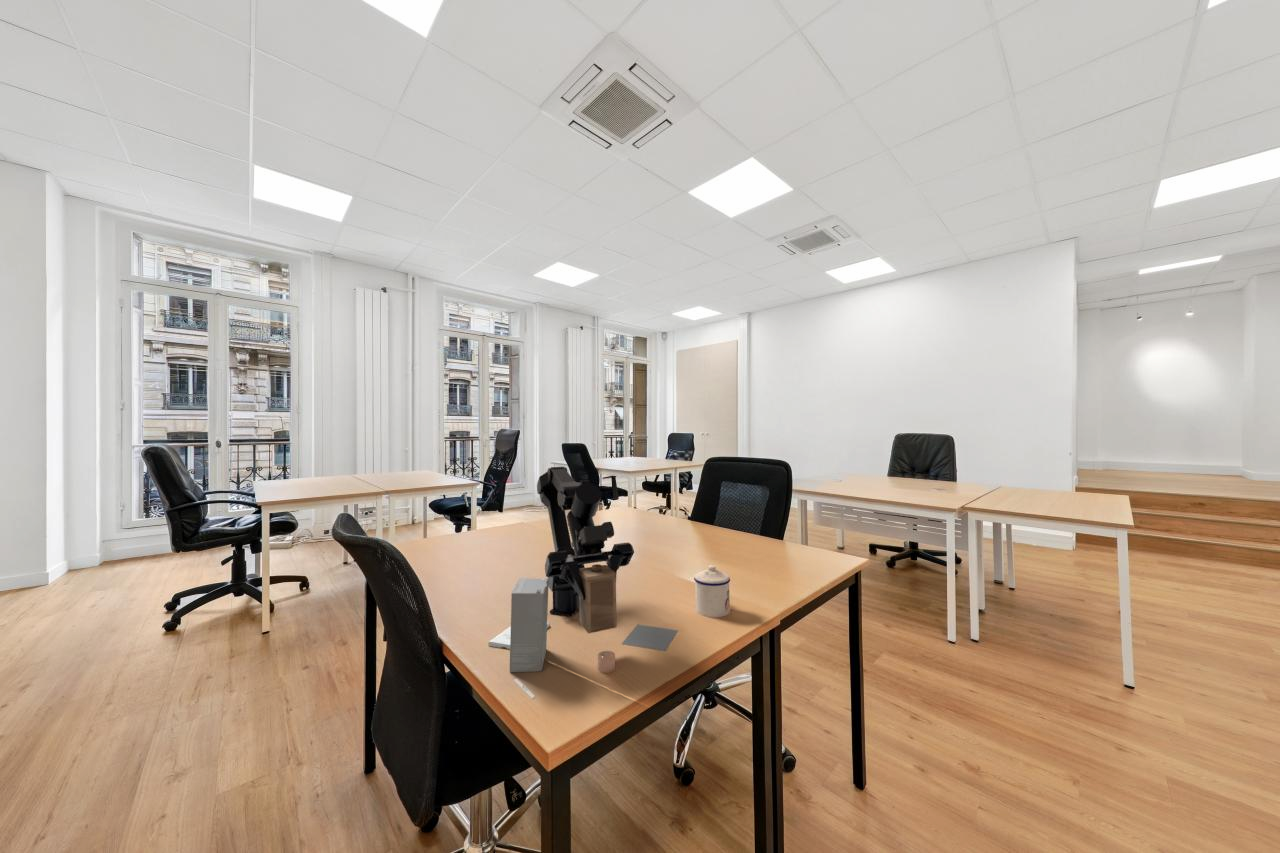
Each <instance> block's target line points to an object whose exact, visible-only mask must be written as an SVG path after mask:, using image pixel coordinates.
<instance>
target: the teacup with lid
mask: <svg viewBox="0 0 1280 853" xmlns="http://www.w3.org/2000/svg"><path fill="white" fill-rule="evenodd" d="M693 580H694V584H695V585H694V586H695V588H694V590H695V591H694V592H695V594H694V596H695V612H696V614H698V615H701V616H703V617H707V618H713V619H714V618H715V619H716V618H722V617H725V616H726V617H727V616H728V615H730V612H731V609H730V608H731V607H730V606H731V602H730V599H731V598H730V582H731V578H730V576H729V574H727V573H726V572H723V571H720V570H719V569H717V568H716V566H715V565H712V564H711V565H710V564H709V565H708V566H707V568H706V569H704V570H702V571H699V572H697V573H696V574H694V577H693Z"/></svg>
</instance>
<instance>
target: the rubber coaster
mask: <svg viewBox="0 0 1280 853" xmlns="http://www.w3.org/2000/svg"><path fill="white" fill-rule="evenodd" d="M678 631H679V629H671V628H666V627H665V628H664V627H657V626H650V625H644V624H639V623H638V624H636V625H635V626H634V628H633V629H632V631H630V633H629V634H628V635H627V636H626V638H625V639H624V640H623V641H622V643H621V645H626V646H632V647H636V648H637V647H638V648H644V649H650V650H657V651H663V652H667V649H668V648H669V647H670V645H671V643H672V641H673V639H674V638H675V636H676V635H677V633H678Z"/></svg>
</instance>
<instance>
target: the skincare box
mask: <svg viewBox="0 0 1280 853" xmlns="http://www.w3.org/2000/svg"><path fill="white" fill-rule="evenodd" d="M548 584H549V579H548V577H546V578H536V577H535V578H533V577H532V578H531V577H529V578H528V577H527V578H525V577H524V578H519V579H518V581H517V582H516V584H515V586H514V588H513V590H511V593H510V594H511V597H510V598H511V606H510V607H511V609H510V613H511V614H510V626H511V639H510V649H509V655H510V656H509V673H525V672H526V673H527V672H528V673H529V672H530V673H531V672H541V671H543V667H544V662H545V657H546V652H547V640H548V639H547V638H548V637H547V636H548V628H547V622H548V611H549V610H548V609H549V608H548V607H549V586H548Z"/></svg>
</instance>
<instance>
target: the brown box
mask: <svg viewBox="0 0 1280 853" xmlns="http://www.w3.org/2000/svg"><path fill="white" fill-rule="evenodd" d="M579 574H580V577H581V581H582V584H583V587H584V591H585V596H586V598H585V600H582V598H581V597H580V596H579V610H578V611H579V623H580V625H581V626H582V627H583V629H584V630H585V631H586V633H587V634H592V633H596V632H601V631H606V630H610V629H611V630H612V629H616V628H618V626H617V623H618V621H617V619H618V618H617V574H616V573H615V572H614V571H613V570H612V569H610V568H609V567H608V566H607V564H603V565H601V564H593V565H591V566H590V567H589V566H588V567H585V568H581V569H579Z"/></svg>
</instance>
